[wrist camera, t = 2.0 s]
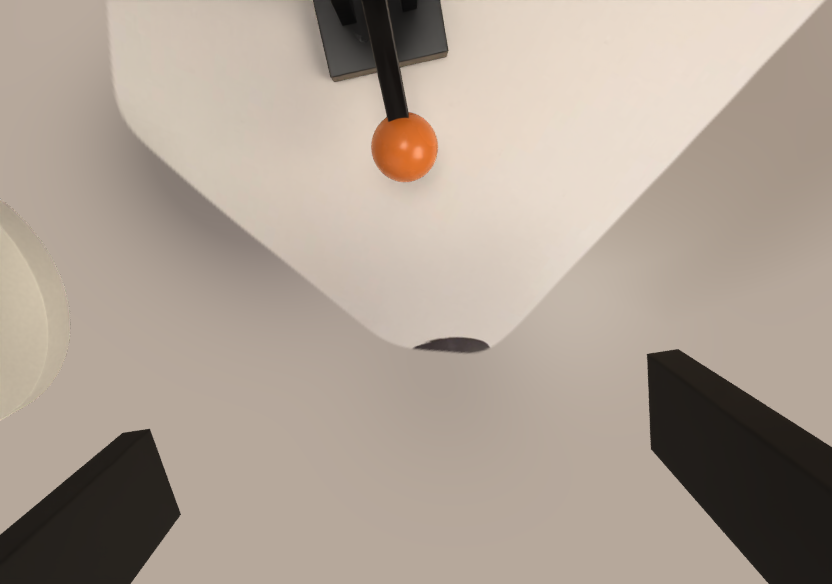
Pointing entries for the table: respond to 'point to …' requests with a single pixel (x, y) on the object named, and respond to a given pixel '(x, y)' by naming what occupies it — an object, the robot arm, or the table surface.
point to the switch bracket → (350, 41)
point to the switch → (396, 107)
